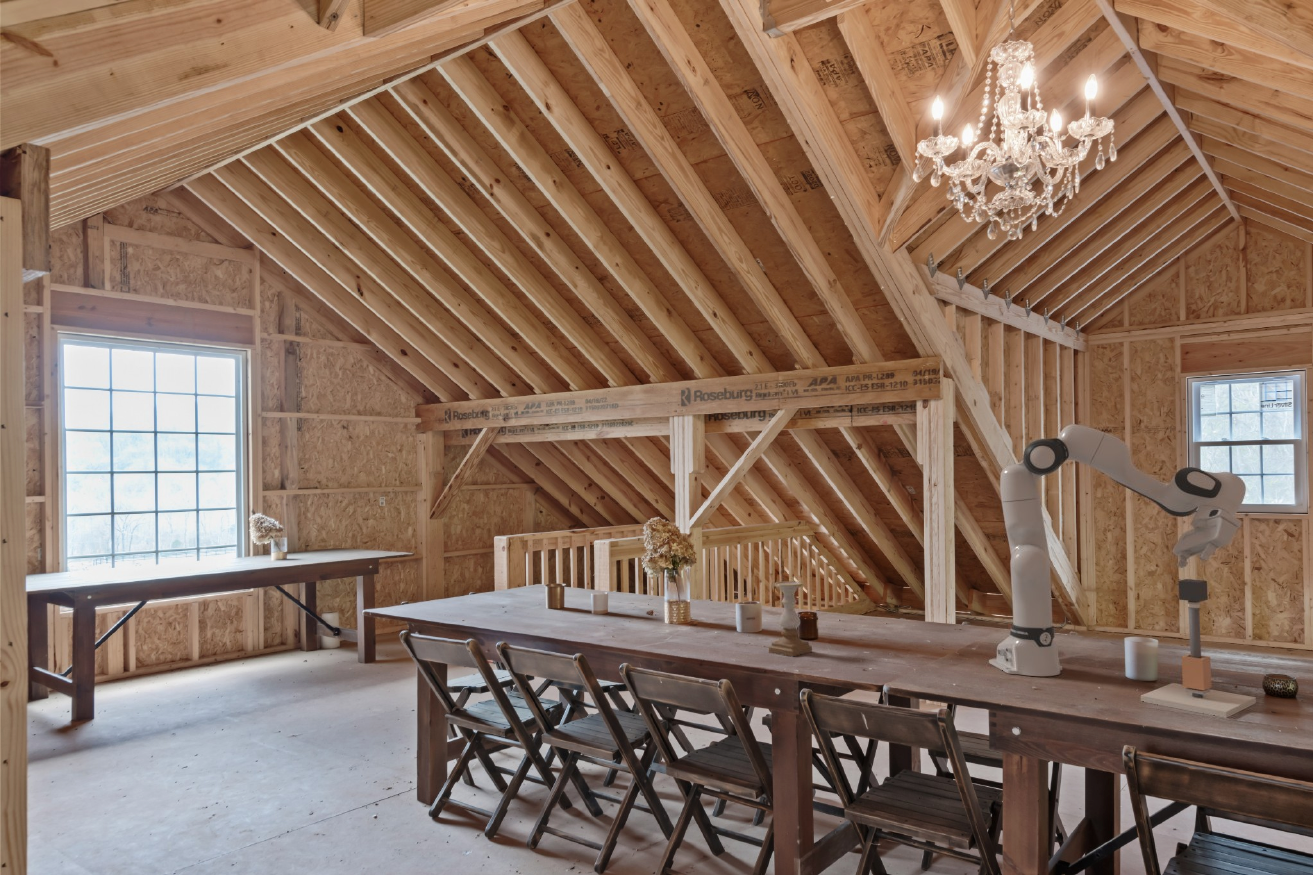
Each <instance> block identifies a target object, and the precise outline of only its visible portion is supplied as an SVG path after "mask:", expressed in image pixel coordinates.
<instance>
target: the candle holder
mask: <svg viewBox="0 0 1313 875" xmlns="http://www.w3.org/2000/svg"><path fill="white" fill-rule="evenodd" d="M773 586H774V587H775V588H779V589H780V590H781V592H782V593H783V598H782V600H781V603H782V604H783V606H784V609H783V612H782V613H781V615H780V617H779V619H778V624H779V626H781V628H782V629H781V631H780V633H781V635H782V637H780V638H779V639H778V640H776V641H772V643H771V645H770V646H768V653H771V654H775V653H776V654H777V655H780V654H783V655H782V656H785V655H786V657H791V656H795V657H798V656H797V655H799V656H801V655H800V654H803V655H806V654H809V653H812V652H813V647H812V645H810V644H809V642H808V641H806V640H805V641H804V640H802V639H801V638H800V637H798V635H799V633H800V631H799V630H798V629H797V628H798V627H799V626H800V625H801V619H800V616H799V615H798V613H797V612H796V609H795V606H796V603H797V600H796V598H795V592H796V591H797V589H798V588H802V587H804V583H803V582H800V581H788V580H785V581H784V580H783V581H776V582H774V583H773ZM805 653H806V654H805Z"/></svg>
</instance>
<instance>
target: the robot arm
mask: <svg viewBox="0 0 1313 875" xmlns="http://www.w3.org/2000/svg"><path fill="white" fill-rule="evenodd" d="M1022 456H1023V457H1022V459H1021V461H1020V462H1018V463H1013V464H1010V465H1007V466H1005V468H1003V469H1002V470H1001V472H1000V479H999V484H1000V485H999V487H1000V490H999V491H1000V499H1001V500H1000V501H1001V506H1002V514H1003V519H1004V524H1005V526H1004V527H1005V530H1006V536H1007V539H1008V540H1007V541H1008V544H1009V546H1008V547H1009V552H1010V565H1009V566H1010V583H1011V595H1012V596H1011V597H1012V598H1011V599H1012V619H1013V620H1012V622H1013V623H1012V624H1007V625H1008V629H1010V631H1009V635H1008V636H1007V637H1006V638H1005V639H1003V641H1002V642H1000V643H999V644H998V645H997V647H996V657H994V658H991V659H989V660H988V664H990V665H992V666H994V667H996V668H997V669H998V670H1001V671H1002V670H1003V672H1005V673H1006V674H1010V675H1011V674H1012V675H1023V676H1033V677H1053V676H1054V677H1055V676H1057V675H1060V674H1061V671H1062V670H1063V666H1062V665H1060V660H1059V652H1058V645H1057V643H1056V641H1055V640H1054V638H1055V633H1056V632H1055V626H1054V625H1053V608H1052V607H1053V605H1052V585H1051V583H1052V582H1051V579H1052V578H1051V576H1052V575H1051V558H1050V551H1049V546H1048V545H1049V544H1048V540H1047V533H1046V528H1045V524H1044V523H1045V522H1044V521H1045V520H1044V517H1043V510H1042V503H1041V498H1040V497H1041V496H1040V492H1039V480H1040V478H1041V477H1042V476H1048V475H1050V474H1053V473H1055V472H1057V471H1058V470H1059V469H1060V467H1061V466H1062V465H1063V464H1064V463H1065V462H1066V461H1075V462H1077V463H1080V464H1083V465H1086V466H1088V467H1090V468H1092V469H1094V470H1097V471H1099V472H1101V473H1102V474H1105V475H1106V476H1107V477H1109V478H1110V479H1111V480H1112V481H1114V482H1116V483H1117V484H1118V485H1120V486H1122V487H1125V488H1126V489H1128V490H1130V491H1132V492H1134V493H1135V494H1138V495H1140V496H1142V497H1144V498H1146V499H1147V500H1150V501H1152V502H1153V503H1155V504H1156V505H1157V506H1158V507H1160V508H1161V509H1162V510H1163V512H1165V513H1167V514H1169V515H1171V516H1174V517H1178V518H1180V517H1181V518H1183V517H1189V516H1191V515H1193V514H1194V517H1193V518H1192V520H1191V525H1192V527H1193V529H1189V530H1187V531H1185V532H1184V533H1182V534H1181V536H1180V537H1179V538H1178V539H1177V542H1176V543H1175V545H1174V547H1173V549H1172V553H1173V554H1174V555H1175V556H1177V557H1178V561H1177V564H1176V565H1177V566H1178V567H1179V568H1186V567H1187V565H1188V564H1189V562H1188V559H1190V558H1191V557H1195V556H1198V555H1199V556H1198V558H1199V560H1201V562H1207V561H1209V559H1210V557H1211V556H1212V555H1213V554H1214V553H1215V552H1216V551H1217V549H1220V548H1223V547H1227V546H1228V545H1230V543H1231V542H1232V540H1233V539H1234V537H1235V535H1236V533H1237V531H1238V529H1239V528H1240V527H1241V526H1242V524H1243V522H1242V521H1241V520H1240V519H1239V518H1236V517H1235V515H1236V514H1237V512H1238V511H1239V510H1240V509H1241V506H1242V504H1243V502H1244V499H1245V496H1246V490H1247V488H1246V483H1245V481H1244V480H1243V479H1242V478H1241V477H1239V476H1238V475H1237V474H1235V473H1233V472H1228V471H1220V472H1210V471H1205V470H1202V469H1201V468H1199V467H1193V466H1191V467H1190V466H1189V467H1188V466H1187V467H1182V468H1180V469H1179V470H1178V471H1177V472H1176V474H1174V476H1173V477H1172V478H1171V480H1170V482H1168V483H1167V482H1162V481H1160V480H1158V479H1156V478H1154V477H1152V476H1150V475H1148V474H1146V473H1145V472H1143V471H1141V470H1139V469H1138V468H1137V467H1136V466H1135V465H1134V463H1133V462H1132V457H1131V451H1130V448H1129V446H1128V445H1127V443H1126V442H1125V441H1124V440H1122V439H1121V438H1118V437H1117V436H1115V435H1113V434H1110V433H1108V432H1105V431H1102V430H1099V429H1096V428H1093V427H1089V426H1085V425H1083V424H1082V425H1080V424H1075V423H1074V424H1073V423H1072V424H1068V425H1066V426H1064V428H1063V429H1062V430H1060V432H1059V434H1058V436H1057V437H1054V438H1053V437H1052V438H1038V439H1035V440H1032V441H1031V442H1029V443H1028V445H1026V447H1025V449H1024V451H1023V455H1022Z"/></svg>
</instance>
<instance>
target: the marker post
mask: <svg viewBox="0 0 1313 875" xmlns="http://www.w3.org/2000/svg"><path fill="white" fill-rule="evenodd" d="M1208 598H1209V597H1208V581H1207V580H1204V579H1203V580H1202V579H1189V578H1187V579H1186V578H1185V579H1181V580H1178V600H1179V601H1187V608H1188V626H1189V627H1188V629H1189V630H1188V631H1189V650H1190V651H1189V652H1190V653H1189V654H1190V655H1191V657H1193V658H1200V659H1201V655H1202V644H1201V623H1200V619H1201V618H1200V608H1201V606H1200V604H1201V602H1204V601H1208ZM1142 701H1144V702H1143V703H1148V704H1154V705H1157V704H1158V706H1162V707H1167V708H1168V707H1169V708H1173V709H1178V710H1184V711H1189V712H1194V713H1198V714H1203V713H1204V715H1209V716H1213V715H1215V716H1214V717H1219V718H1224V719H1227V718H1229V717H1231V716H1233V715H1235V714H1237V713H1239V712H1241V711H1243V710H1245V709H1247V708H1249V707H1251V706H1253V705H1255V704H1256V703H1257V698H1256V697H1254V696H1250V695H1249V696H1248V695H1244V694H1240V693H1231V692H1225V691H1221V690H1215V689H1211V688H1209V689H1206V690H1198V689H1193V688H1187V687H1183V683H1182V684H1181V683H1176V682H1171V683H1169V684H1166V685H1164V686H1161V687H1159V688H1156V689H1154V690H1152V691H1148V692H1146V693H1144V694H1142V695H1140V702H1142Z"/></svg>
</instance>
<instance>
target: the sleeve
mask: <svg viewBox="0 0 1313 875" xmlns="http://www.w3.org/2000/svg"><path fill="white" fill-rule="evenodd" d="M1211 664H1212V663H1211V656H1208V655H1202V654H1201V659H1200V658H1193V657H1191V655H1190V653H1187V654H1184V655H1182V656H1181V673H1182V674H1181V677H1182V685H1183V687H1187V688H1193V689H1198V690H1206V689H1211V688H1212V686H1213V685H1212V666H1211Z"/></svg>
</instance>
